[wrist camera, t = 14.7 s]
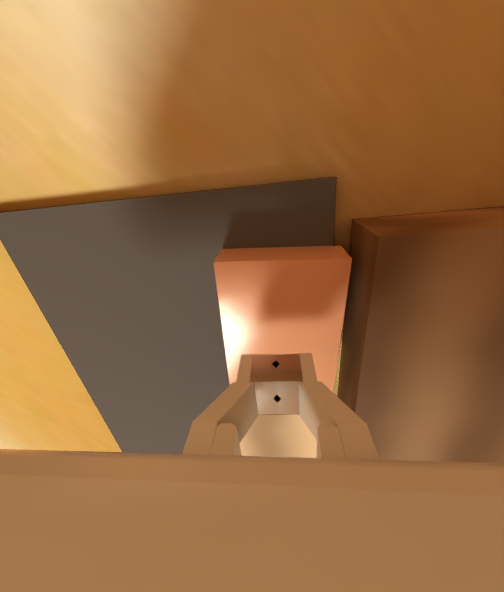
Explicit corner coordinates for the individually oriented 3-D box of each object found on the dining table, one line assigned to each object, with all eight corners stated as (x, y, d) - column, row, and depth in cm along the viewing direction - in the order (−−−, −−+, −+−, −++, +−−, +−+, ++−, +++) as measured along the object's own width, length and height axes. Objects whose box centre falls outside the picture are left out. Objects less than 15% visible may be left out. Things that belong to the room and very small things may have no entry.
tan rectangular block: (313, 388, 17) (318, 414, 15) (314, 456, 20) (318, 484, 19) (228, 390, 18) (222, 415, 16) (244, 455, 21) (241, 482, 19)
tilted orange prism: (340, 245, 12) (352, 258, 10) (326, 367, 16) (333, 391, 14) (222, 248, 13) (213, 261, 11) (235, 365, 16) (230, 388, 15)
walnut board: (696, 190, 10) (877, 199, 7) (513, 462, 19) (559, 517, 16) (352, 219, 12) (379, 236, 9) (332, 456, 21) (342, 506, 18)
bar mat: (333, 176, 11) (336, 177, 11) (319, 469, 22) (321, 476, 22) (-3, 212, 13) (-15, 214, 13) (135, 462, 24) (132, 469, 24)
